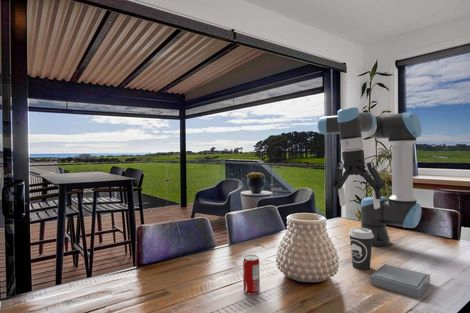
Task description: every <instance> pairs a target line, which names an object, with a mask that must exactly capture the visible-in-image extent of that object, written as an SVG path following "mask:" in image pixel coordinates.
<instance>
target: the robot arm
mask: <svg viewBox="0 0 470 313" xmlns="http://www.w3.org/2000/svg"><path fill="white" fill-rule="evenodd" d="M317 129H318V132H319V133H320V134H321V135H332V134H333V135H335V134H336V135H339V139H340V147H341V150H342V152H341V155H342V157H341V158H342V161H343V162H339V163H336V165H335V168H336V169H335V172H334V176H333V179H332V182H331V187H333V188H335V189H336V194H337V197H338V198H339V206H341V207H342V206H344V205H347V203H346V202H347V201H346V195H345V194H346V192H345V187H344V184H345V183H346V181H347V179H348V178H349V176H353V175H354V176H360V177H361V178H363V179H364V180H365V181H366V182H367V184H368V185H370V187H371V188H372V189H373V190H371V192H372V193H371V194H372V196H369V197H368V196H367V197H363V198H362V199H361V200H360V201H361V203H360V216H361V217H360V223H361V224H360V228H366V229H369V230H371V231H372V233H373V235H374V238H373V240H372V247H386V246H389V245H390V244H391V238H390V235H389V232H388V229H387V225H391V226H395V227H396V226H397V227H403V228H409V229H412V228H413V229H414V228H416V227H417V226H418V225H419V222H420V221H421V217H422V210H423V209H422V206H421V204H420V203H418V202H417V198H416V197H415V196H414V195H413V194H414V192H413V191H414V190H413V189H414V188H413V187H414V184H413V183H414V182H413V180H414V179H413V174H414V172H413V167H414V165H413V160H414V159H413V158H414V157H413V151H414V150H413V146H414V144H415V143H416V142H417V138H419V137H421V135H422V125H421V120H420V118H419V116H418V115H417V114H416V113H414V112H401V113H390V114H381V115H374V114H373V113H371V112H367V111H364V112H363V111H362V112H360V110H359V108H358V107H356V106H353V107H346V108H341V109H339V110H337V114H336V115H327V116H322V117H320V118H319V119H318V121H317ZM363 137H366V138H367V137H368V138H374V139H375V138H376V139H388V143H389V144H390V145H391V193H392V194H391V195H390V196H389V197H388V200H387V197H386V196H382V193H381V192H382V191H381V190H382V189H384V188H386V187H387V185H386V183H385V182H384V180H383V179H382V177H381V174H379V172H378V171H377V169H376V166H375V163H374V162H373V161H370V162H365V150H364V149H363V148H364V143H363ZM343 169H344V171H343ZM366 169H367V170H366ZM369 173H370V174H369ZM341 175H342V176H341Z"/></svg>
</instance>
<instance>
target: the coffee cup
mask: <svg viewBox="0 0 470 313" xmlns="http://www.w3.org/2000/svg"><path fill="white" fill-rule="evenodd" d="M348 236H349V242H350V252H351V253H350V254H351V261H352V262H351V263H352V267H353V268H354V269H357V270H360V271H368V270H370V268H371V260H372V259H371V258H372V250H373V246H372V240H373V238H374V235H373V233H372V231H371V230H369V229H366V228H361V227H352V228H350V230H349V232H348Z"/></svg>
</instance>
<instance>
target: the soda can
mask: <svg viewBox="0 0 470 313" xmlns="http://www.w3.org/2000/svg"><path fill="white" fill-rule="evenodd" d="M259 259H260V258H259V256H258V255H256V254H246V255H244V257H243V262H242V265H243V266H242V268H243V269H242V273H243V274H242V275H243V276H242V277H243V278H242V279H243V292H244V291H245V292H246V293H249V294H254V295H256V294H255V293H257V294H258V293H259V292H260V290H261V285H260V284H261V282H260V279H261V278H260V273H261V272H260V260H259ZM245 292H244V293H245ZM246 293H245V294H246ZM249 294H248V295H249Z"/></svg>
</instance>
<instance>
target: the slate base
mask: <svg viewBox="0 0 470 313" xmlns="http://www.w3.org/2000/svg"><path fill="white" fill-rule="evenodd" d="M430 284H431V274H428V273H424V272H420V271H416V270H412V269H407V268H403V267H399V266H395V265H391V264H387V263H384V264H383V265H382V266H380V267H379V268H378V269H377V270H376V271H374V272H373V273H372V274H371V275H370V285H372V286H376V287H378V288H381V289H386V290H388V291H391V292H396V293H399V294H402V295H405V296H409V297H413V298H415V299H419V300H420V299H421V298H422V296H423V294H424V293H425V292H426V290H427V289H428V287H429V286H430Z"/></svg>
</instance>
